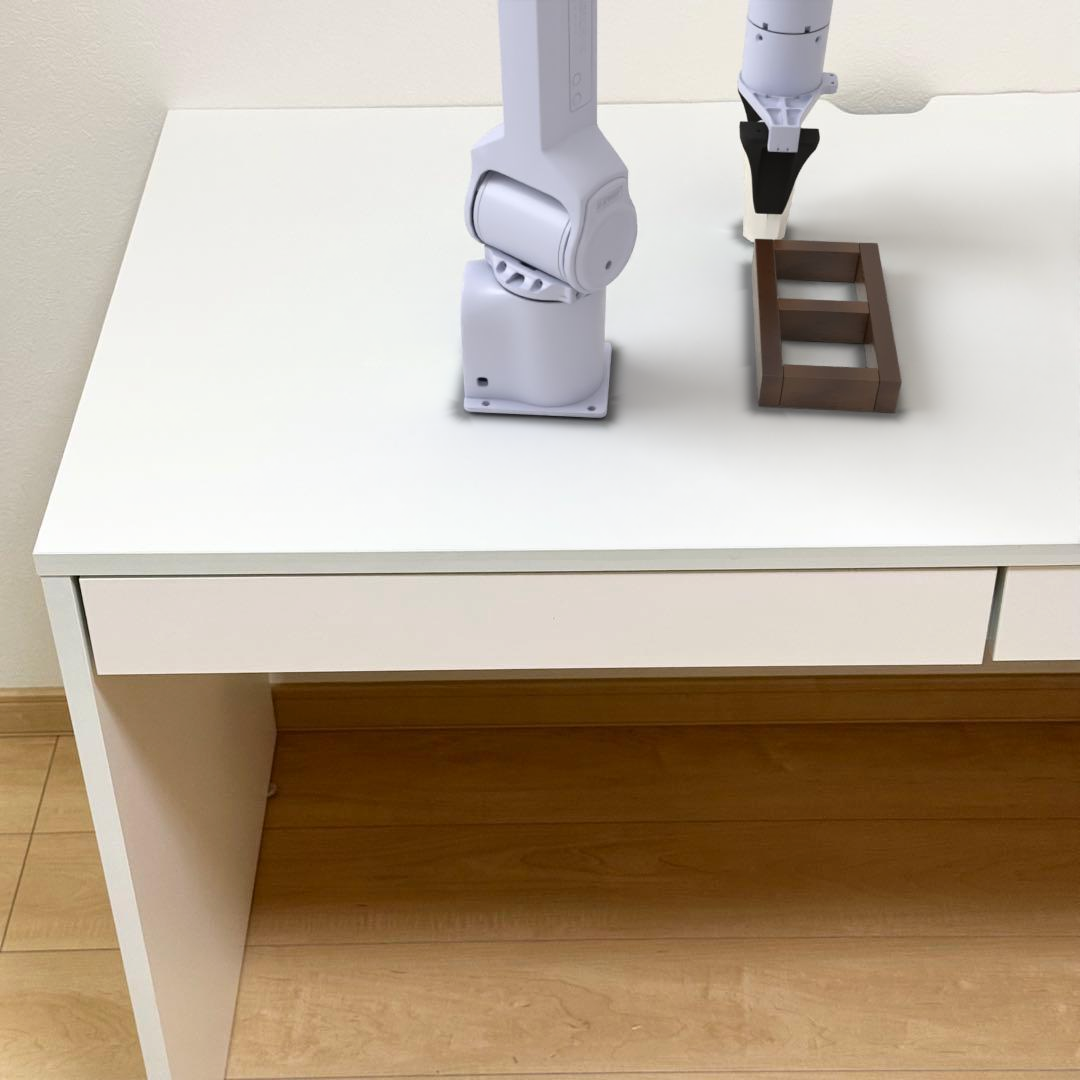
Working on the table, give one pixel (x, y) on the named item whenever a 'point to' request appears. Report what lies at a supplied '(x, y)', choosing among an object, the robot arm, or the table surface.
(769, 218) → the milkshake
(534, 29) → the robot arm
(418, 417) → the table surface
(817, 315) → the rack
